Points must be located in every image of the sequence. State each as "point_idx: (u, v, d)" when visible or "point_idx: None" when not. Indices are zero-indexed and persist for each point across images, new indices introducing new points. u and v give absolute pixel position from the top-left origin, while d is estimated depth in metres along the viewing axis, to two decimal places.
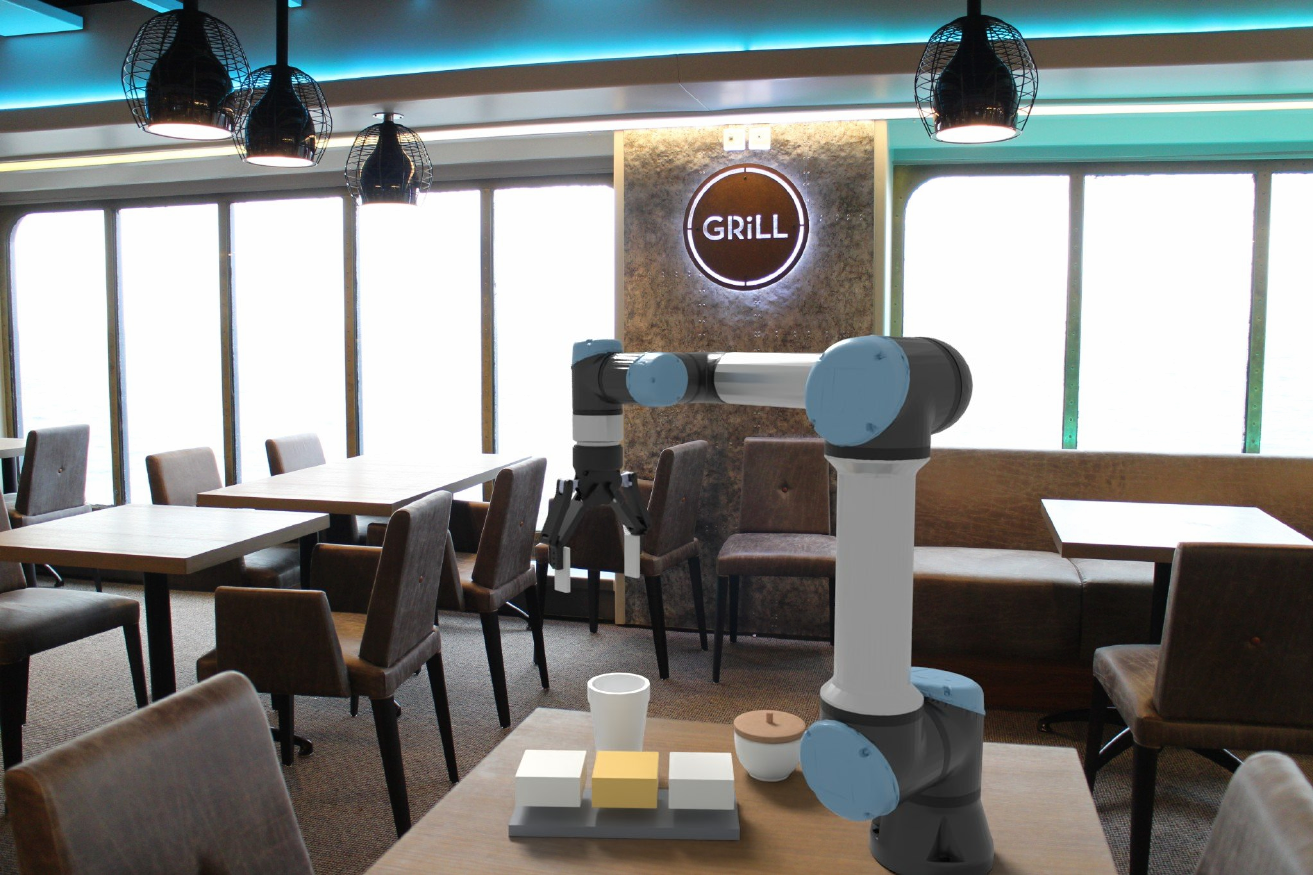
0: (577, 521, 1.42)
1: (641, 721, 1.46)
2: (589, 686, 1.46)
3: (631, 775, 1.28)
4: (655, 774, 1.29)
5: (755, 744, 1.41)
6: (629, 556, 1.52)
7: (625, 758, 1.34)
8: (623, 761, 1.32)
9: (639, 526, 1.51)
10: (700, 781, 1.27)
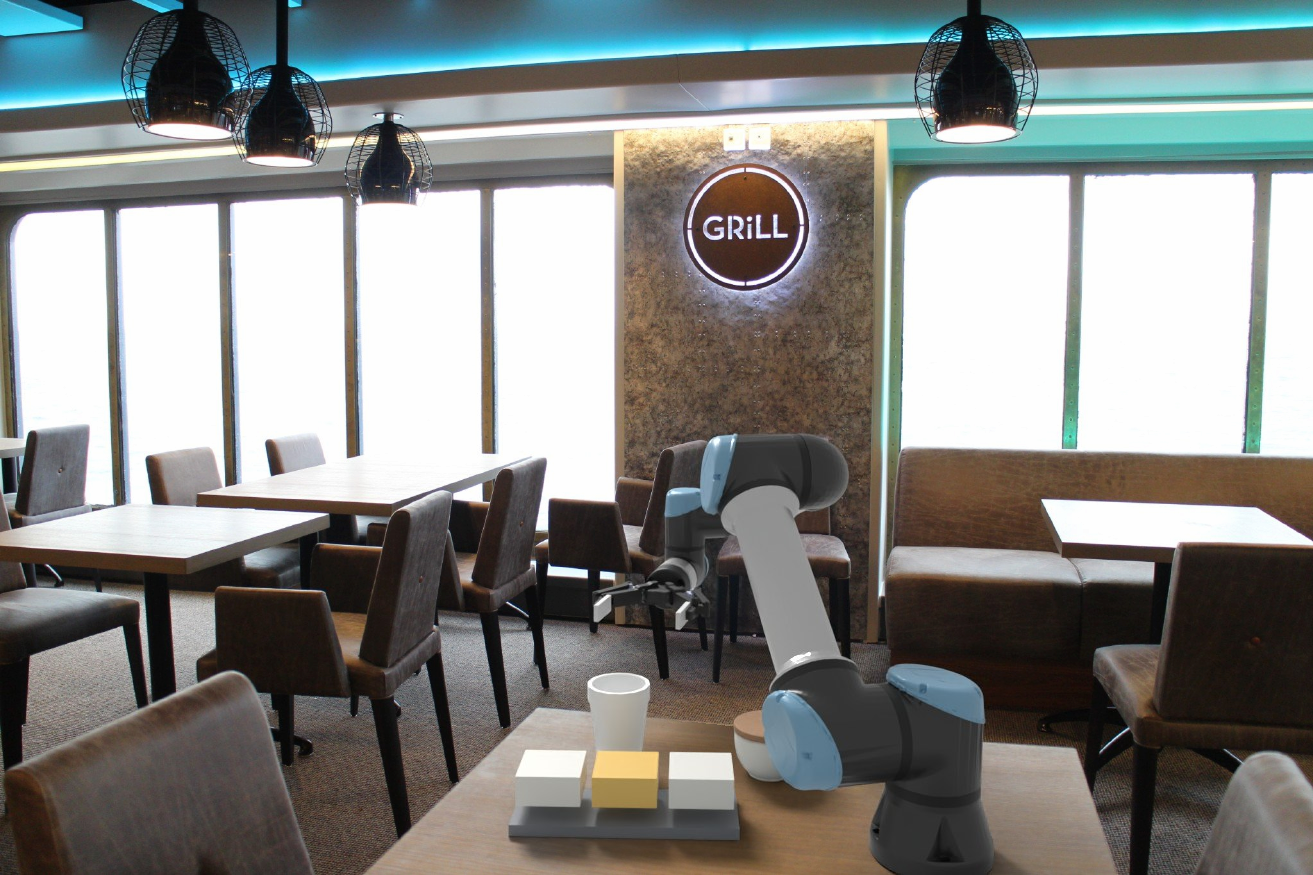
0: (626, 591, 1.66)
1: (641, 721, 1.46)
2: (589, 686, 1.46)
3: (631, 775, 1.28)
4: (655, 774, 1.29)
5: (755, 744, 1.41)
6: None
7: (625, 758, 1.34)
8: (623, 761, 1.32)
9: None
10: (700, 781, 1.27)
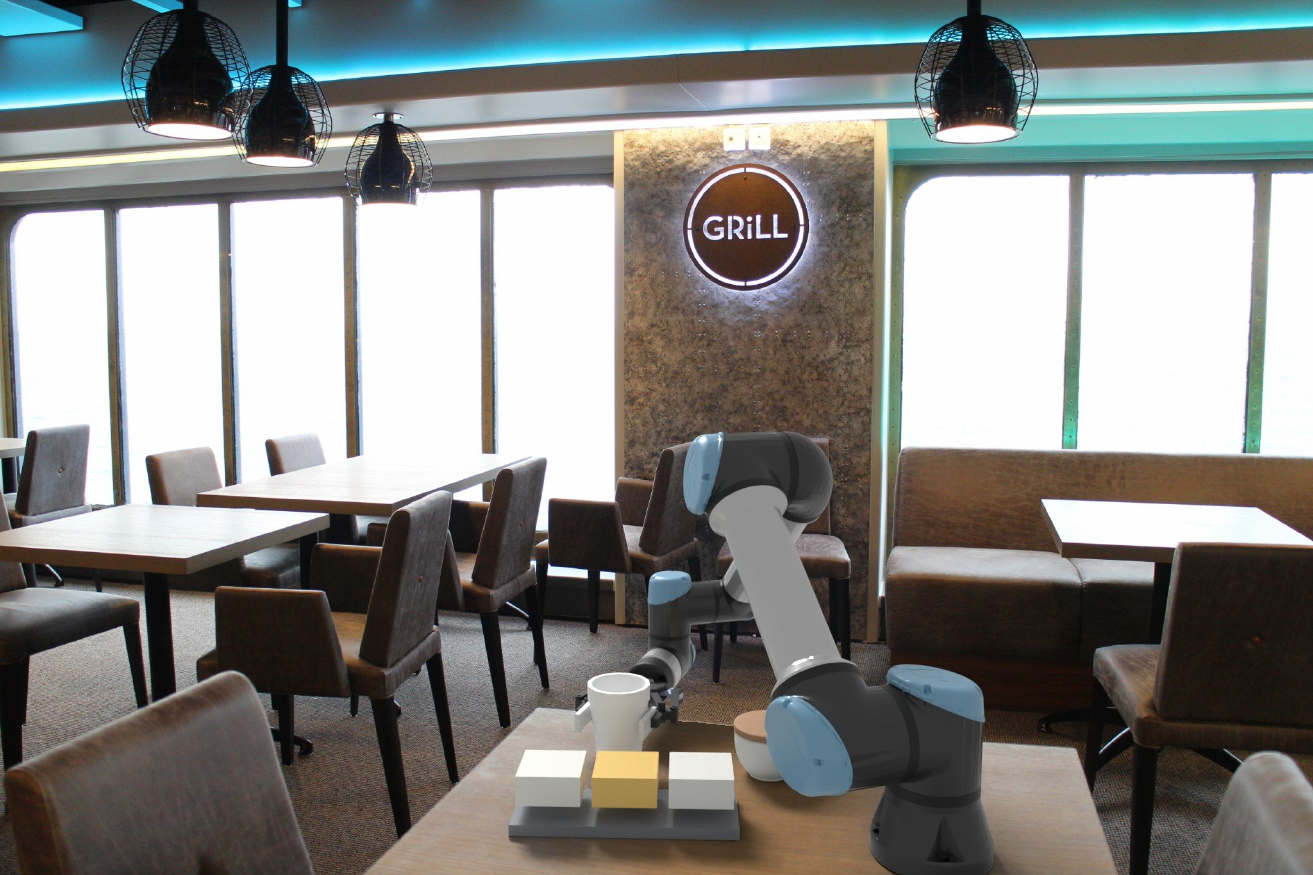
0: None
1: None
2: (589, 686, 1.46)
3: (631, 775, 1.28)
4: (655, 774, 1.29)
5: (755, 744, 1.41)
6: None
7: (625, 758, 1.34)
8: (623, 761, 1.32)
9: None
10: (700, 781, 1.27)
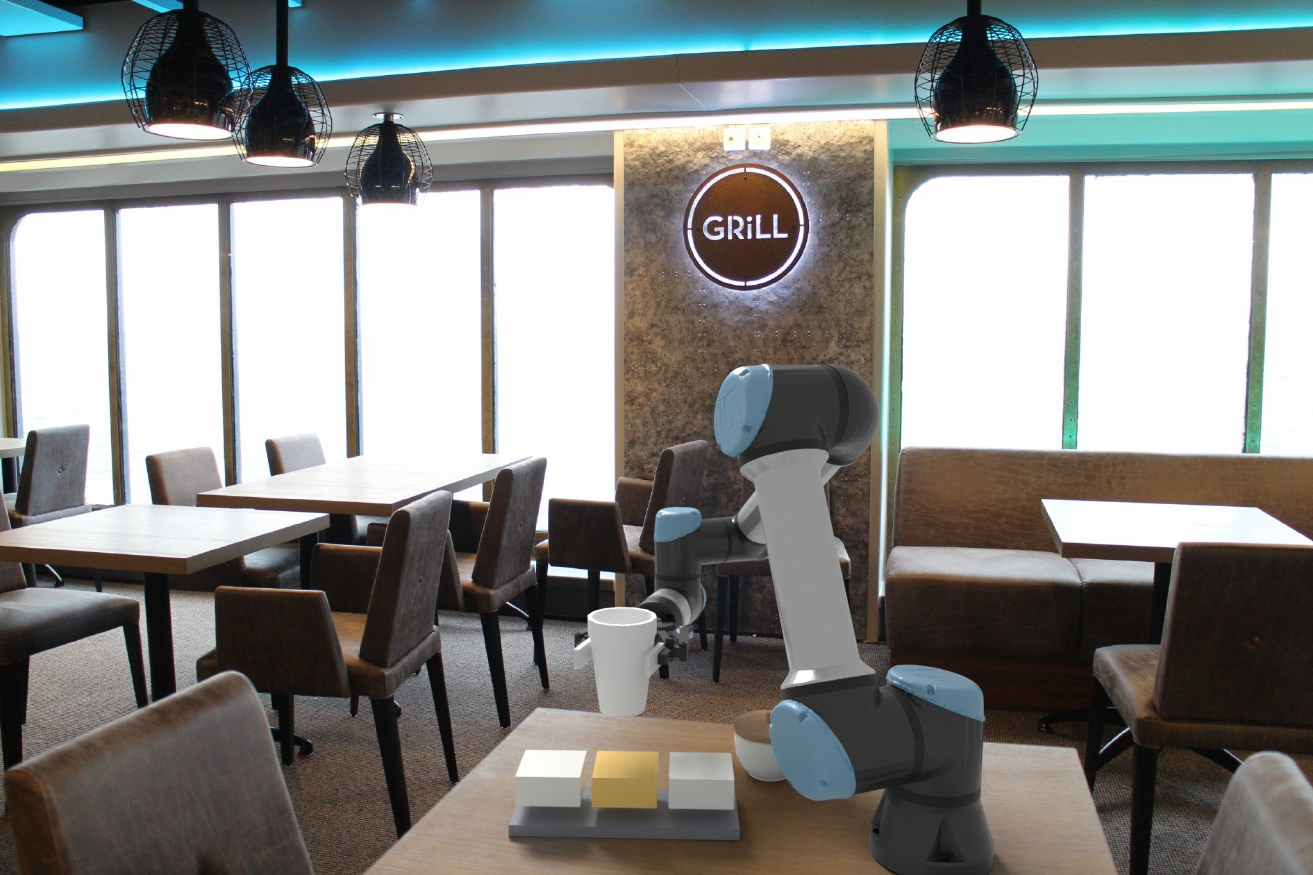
0: None
1: None
2: (589, 619, 1.32)
3: (631, 775, 1.28)
4: (655, 774, 1.29)
5: (755, 744, 1.41)
6: None
7: (625, 758, 1.34)
8: (623, 761, 1.32)
9: None
10: (700, 781, 1.27)
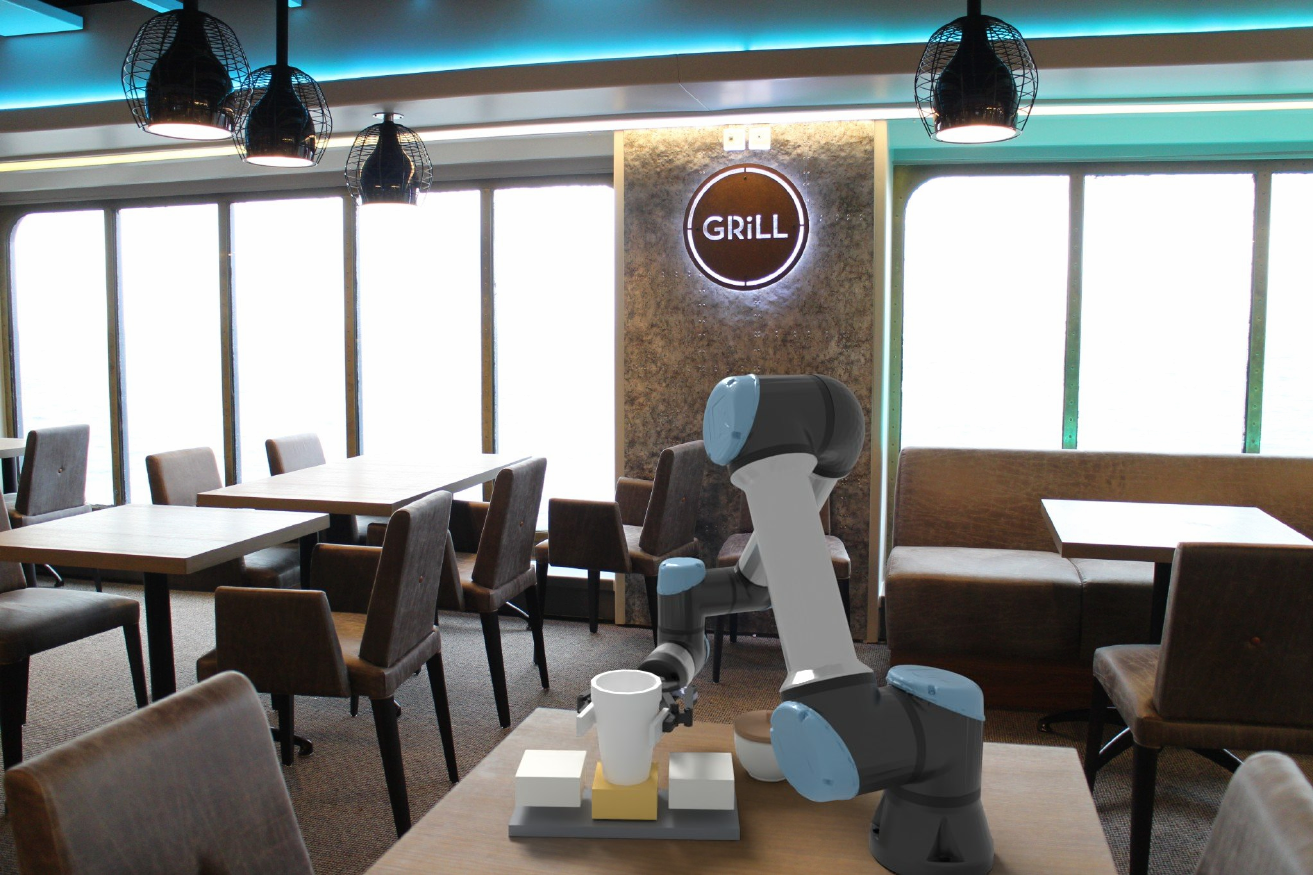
0: None
1: None
2: (593, 685, 1.29)
3: (631, 786, 1.28)
4: (655, 785, 1.29)
5: (755, 744, 1.41)
6: None
7: None
8: None
9: None
10: (700, 781, 1.27)
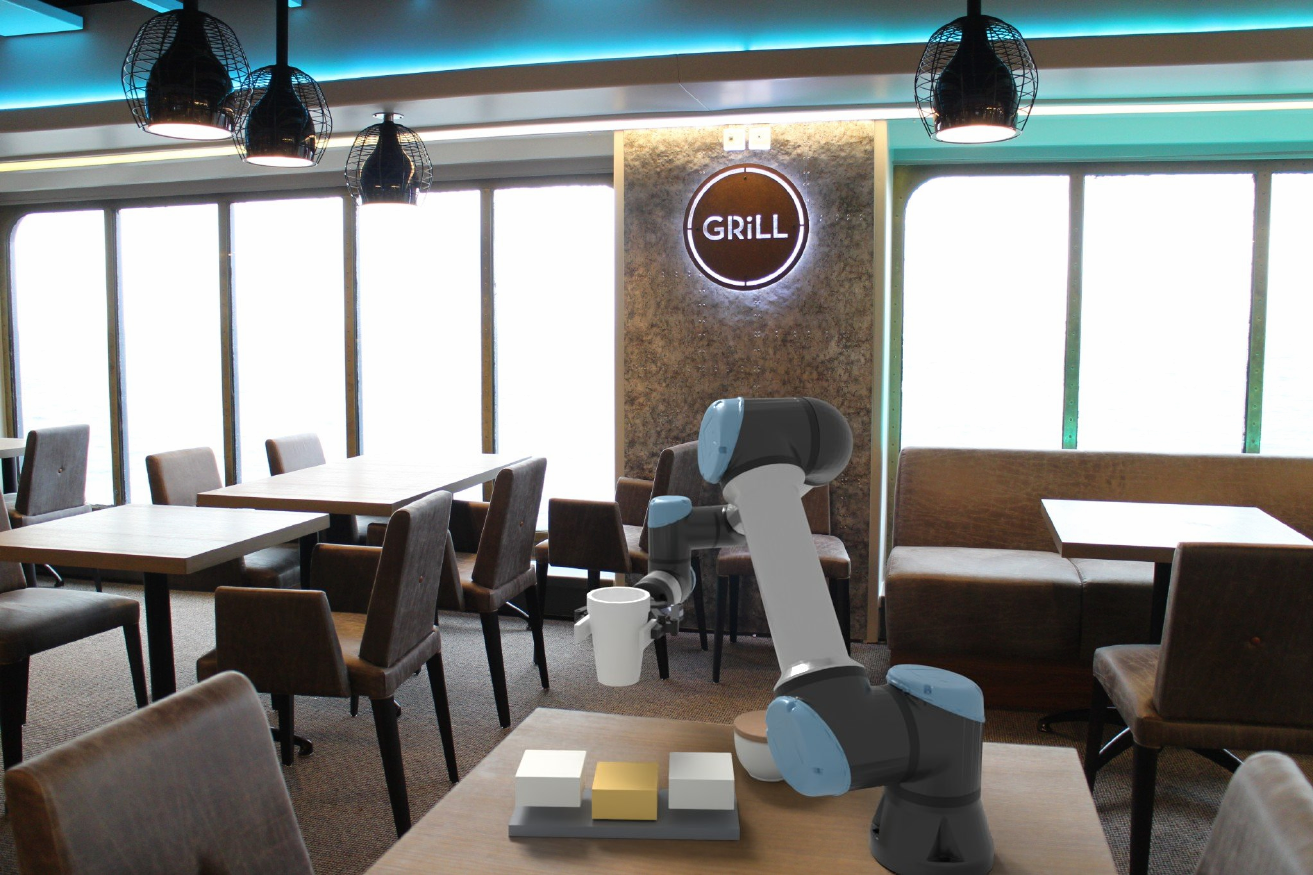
0: None
1: None
2: (589, 597, 1.45)
3: (631, 787, 1.28)
4: (655, 785, 1.29)
5: (755, 744, 1.41)
6: None
7: (625, 769, 1.34)
8: (623, 773, 1.33)
9: None
10: (700, 781, 1.27)
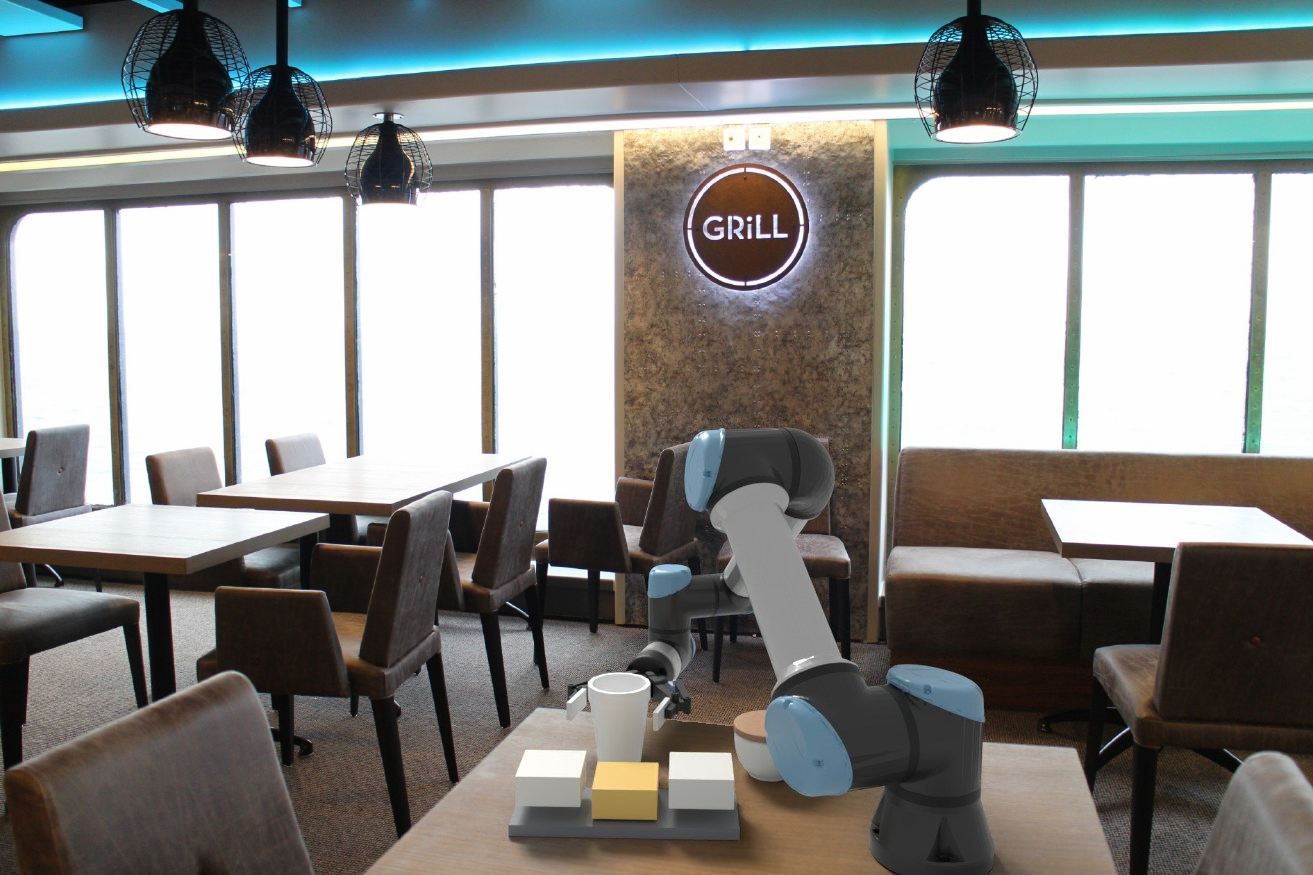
0: None
1: (642, 721, 1.46)
2: (590, 686, 1.46)
3: (631, 787, 1.28)
4: (655, 785, 1.29)
5: (755, 744, 1.41)
6: None
7: (625, 769, 1.34)
8: (623, 773, 1.33)
9: None
10: (700, 781, 1.27)
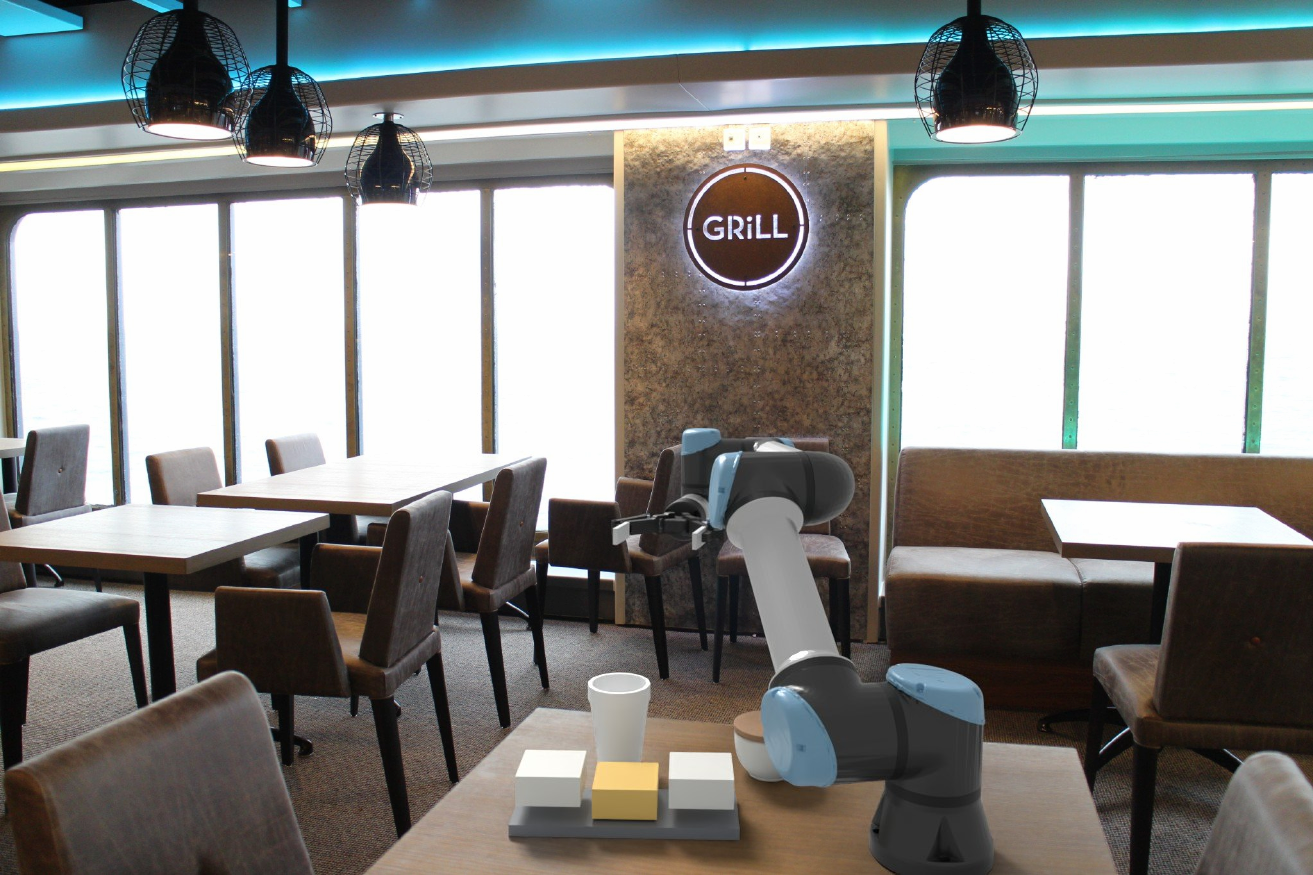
0: (644, 519, 1.72)
1: (642, 721, 1.46)
2: (590, 686, 1.46)
3: (631, 787, 1.28)
4: (655, 785, 1.29)
5: (755, 744, 1.41)
6: None
7: (625, 769, 1.34)
8: (623, 773, 1.33)
9: None
10: (700, 781, 1.27)
